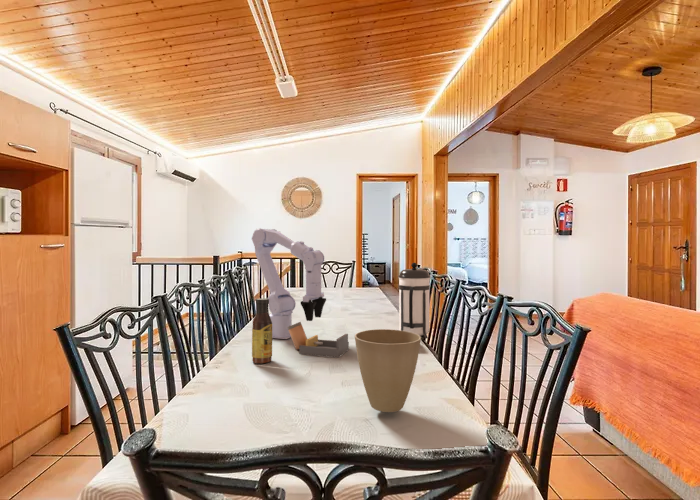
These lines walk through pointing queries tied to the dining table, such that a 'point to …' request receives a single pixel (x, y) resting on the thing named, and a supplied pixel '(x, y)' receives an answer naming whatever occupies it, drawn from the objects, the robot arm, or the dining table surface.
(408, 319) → the coffee press
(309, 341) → the tan pusher block
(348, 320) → the dining table surface
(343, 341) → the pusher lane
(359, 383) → the dining table surface
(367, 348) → the plant pot
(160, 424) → the dining table surface
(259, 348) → the sauce bottle
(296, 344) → the jar
